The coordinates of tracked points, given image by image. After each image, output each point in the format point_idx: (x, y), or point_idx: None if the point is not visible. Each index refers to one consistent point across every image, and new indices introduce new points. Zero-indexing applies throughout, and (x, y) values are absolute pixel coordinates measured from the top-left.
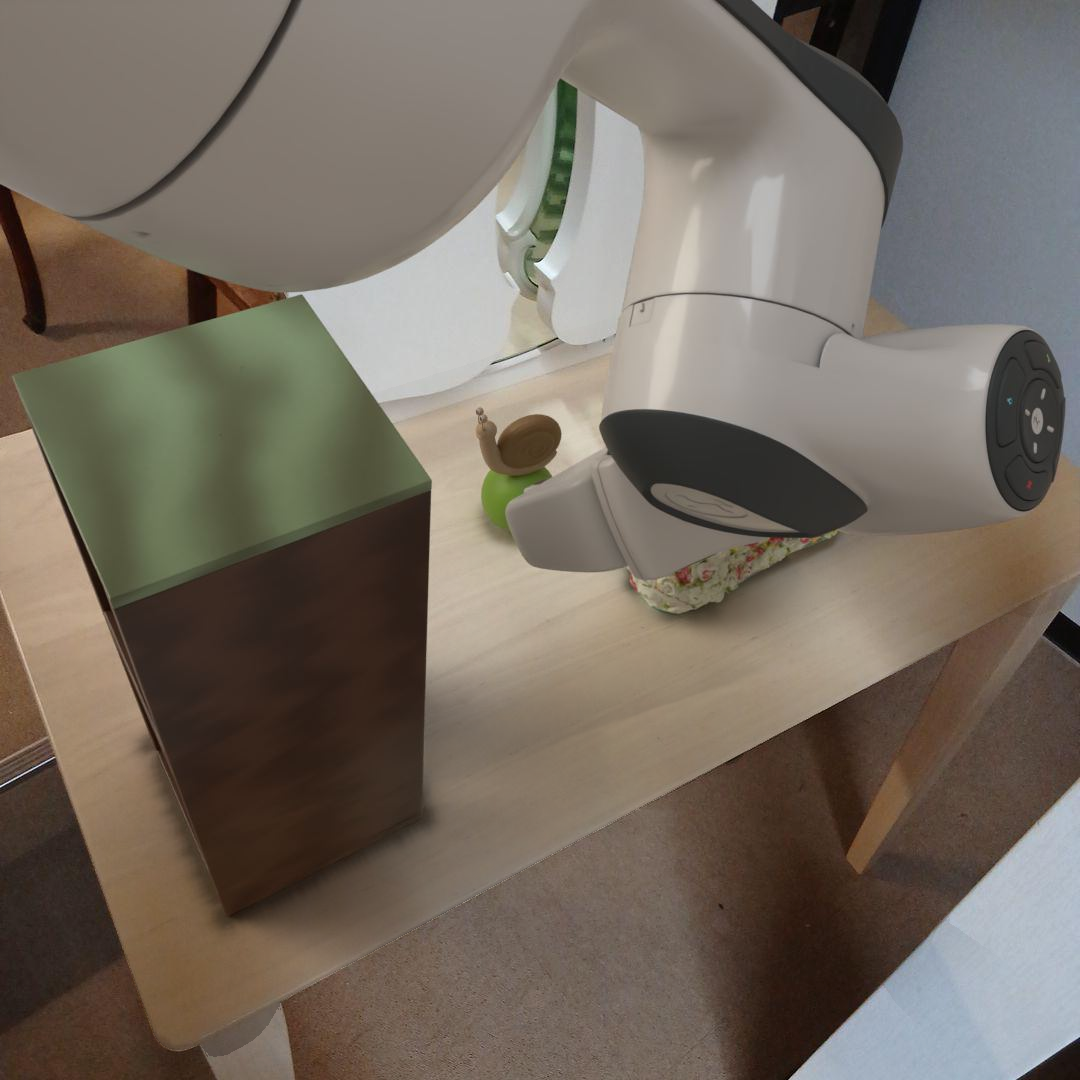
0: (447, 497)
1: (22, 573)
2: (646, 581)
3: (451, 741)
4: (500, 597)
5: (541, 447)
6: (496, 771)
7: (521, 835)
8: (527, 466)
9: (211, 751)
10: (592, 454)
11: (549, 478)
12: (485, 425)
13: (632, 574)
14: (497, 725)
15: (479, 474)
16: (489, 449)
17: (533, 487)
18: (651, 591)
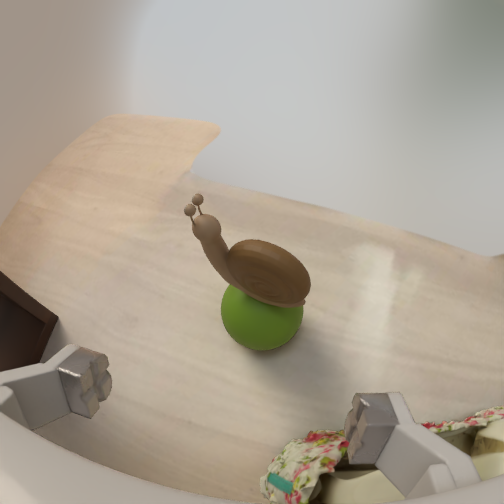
0: None
1: (49, 166)
2: (267, 483)
3: (57, 421)
4: (179, 373)
5: (272, 290)
6: None
7: None
8: (258, 296)
9: None
10: (19, 437)
11: (86, 366)
12: (199, 221)
13: (273, 461)
14: (84, 443)
15: None
16: (205, 251)
17: (53, 356)
18: (265, 491)
